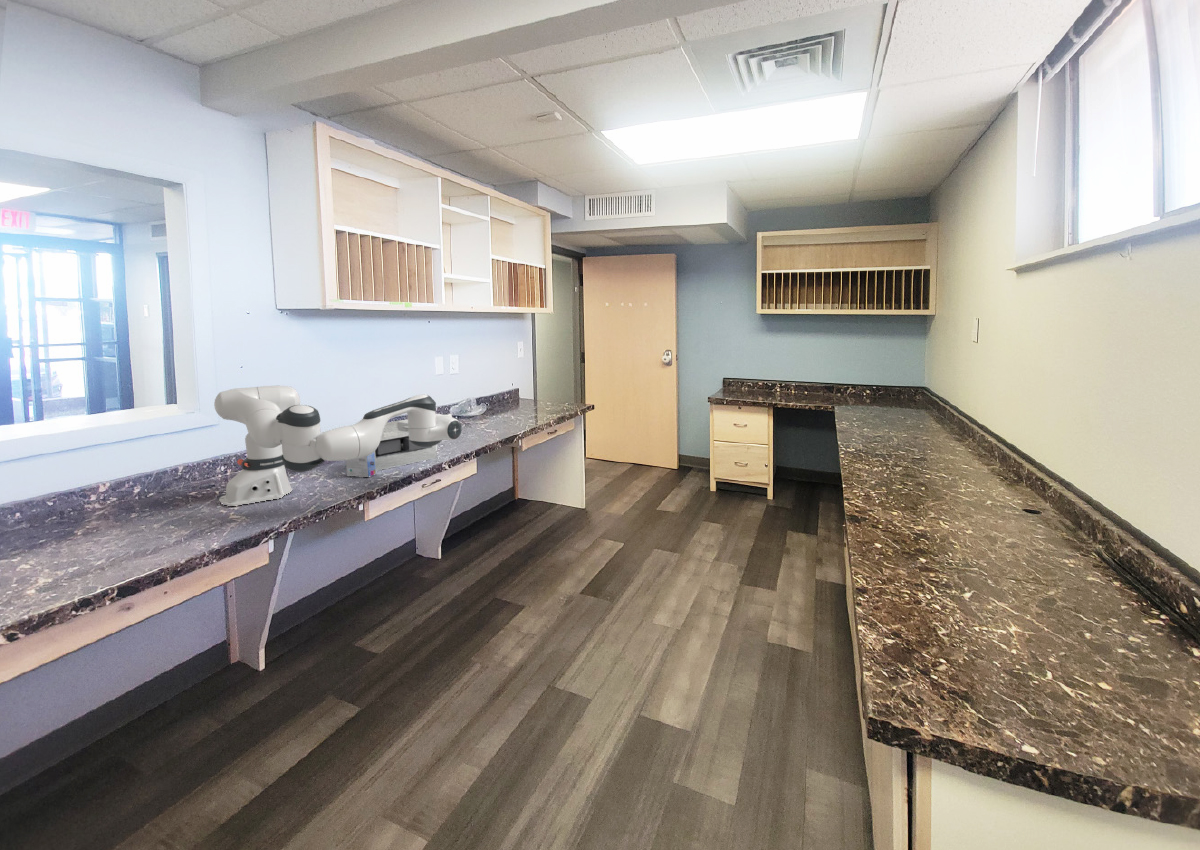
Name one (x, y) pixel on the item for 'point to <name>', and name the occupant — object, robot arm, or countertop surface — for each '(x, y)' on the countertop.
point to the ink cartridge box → (361, 466)
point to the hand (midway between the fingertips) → (414, 420)
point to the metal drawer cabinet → (403, 455)
